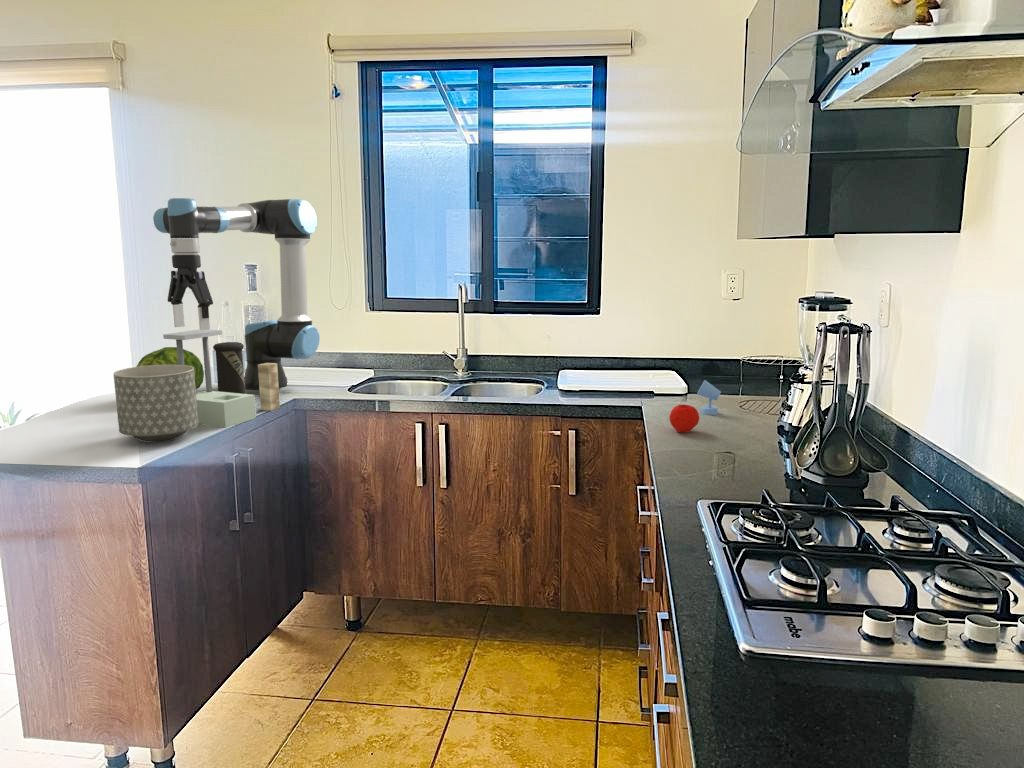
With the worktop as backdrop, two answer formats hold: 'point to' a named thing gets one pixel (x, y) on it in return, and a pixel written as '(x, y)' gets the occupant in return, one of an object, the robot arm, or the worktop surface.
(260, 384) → the peg
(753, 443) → the worktop surface
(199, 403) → the socket station
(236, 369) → the container
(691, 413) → the apple
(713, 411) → the spotlight
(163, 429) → the planter
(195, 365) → the lettuce
